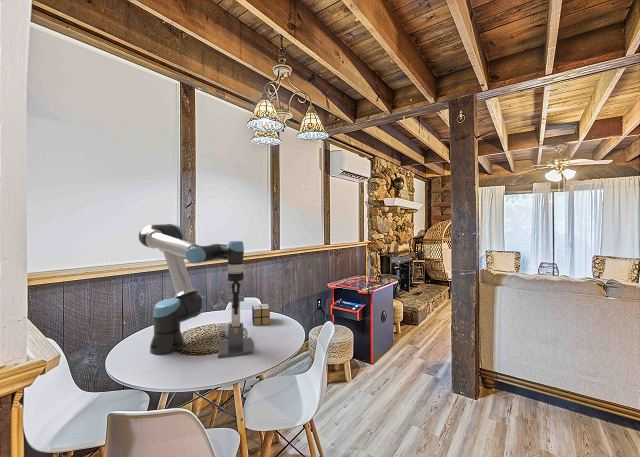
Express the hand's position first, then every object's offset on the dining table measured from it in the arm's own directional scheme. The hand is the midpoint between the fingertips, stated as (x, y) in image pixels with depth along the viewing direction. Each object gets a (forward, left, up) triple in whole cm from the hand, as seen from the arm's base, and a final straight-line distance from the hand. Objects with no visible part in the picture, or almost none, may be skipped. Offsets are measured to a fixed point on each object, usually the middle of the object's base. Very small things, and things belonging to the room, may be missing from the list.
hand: (235, 318), depth 143 cm
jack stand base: (0, 0, -15) cm, 15 cm away
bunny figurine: (-5, +20, -16) cm, 26 cm away
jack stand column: (0, 0, -11) cm, 11 cm away
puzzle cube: (+15, +33, -16) cm, 39 cm away
